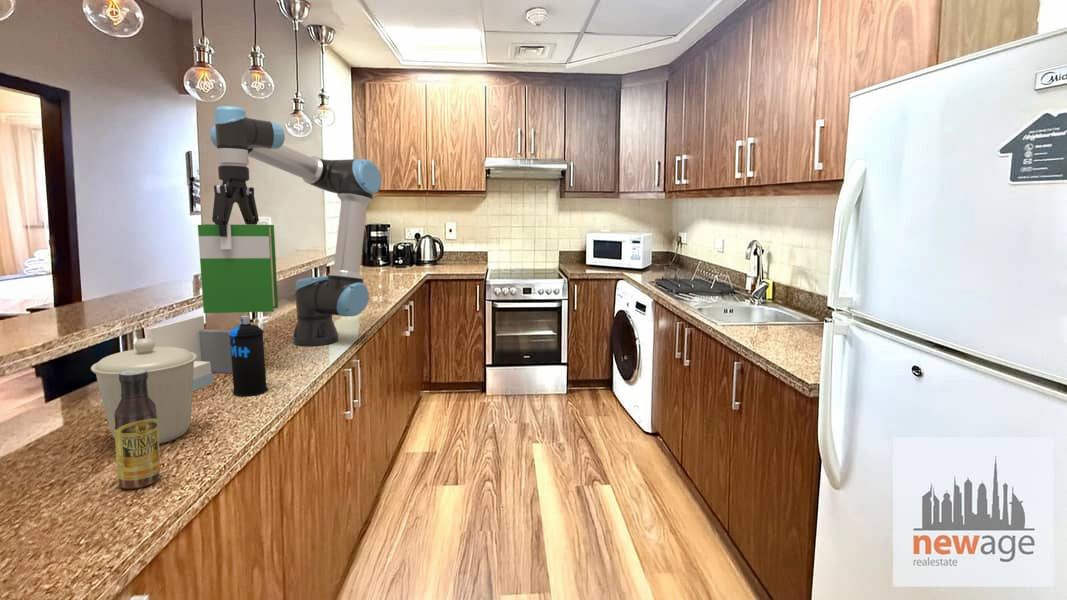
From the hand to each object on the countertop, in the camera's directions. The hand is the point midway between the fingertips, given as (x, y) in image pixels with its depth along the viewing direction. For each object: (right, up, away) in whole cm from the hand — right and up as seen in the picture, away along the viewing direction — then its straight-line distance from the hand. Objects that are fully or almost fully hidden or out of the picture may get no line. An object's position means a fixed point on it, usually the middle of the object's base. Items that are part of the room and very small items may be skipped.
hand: (238, 248), depth 165 cm
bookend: (-8, -35, +8) cm, 37 cm away
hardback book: (0, -18, +3) cm, 18 cm away
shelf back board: (-16, -36, +1) cm, 40 cm away
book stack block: (-11, -38, -7) cm, 40 cm away
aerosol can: (+9, -39, -11) cm, 41 cm away
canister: (+3, -43, -42) cm, 60 cm away
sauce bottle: (+14, -46, -62) cm, 78 cm away
